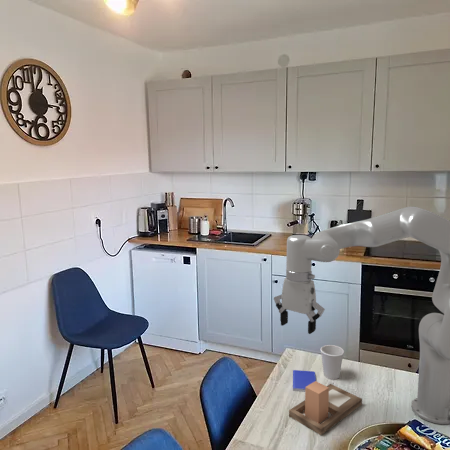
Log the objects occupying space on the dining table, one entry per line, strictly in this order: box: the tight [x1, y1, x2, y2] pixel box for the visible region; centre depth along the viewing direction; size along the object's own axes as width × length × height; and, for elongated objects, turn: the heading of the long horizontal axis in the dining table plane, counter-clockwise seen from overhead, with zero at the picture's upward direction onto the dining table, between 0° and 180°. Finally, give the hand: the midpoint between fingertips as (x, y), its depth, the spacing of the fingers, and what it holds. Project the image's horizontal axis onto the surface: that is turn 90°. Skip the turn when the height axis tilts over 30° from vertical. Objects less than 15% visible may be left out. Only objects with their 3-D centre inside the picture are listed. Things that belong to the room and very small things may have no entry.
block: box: [304, 380, 329, 424], centre depth 122 cm, size 5×5×10 cm
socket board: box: [288, 383, 363, 436], centre depth 126 cm, size 12×22×2 cm, turn 131°
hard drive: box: [292, 369, 317, 393], centre depth 142 cm, size 2×8×12 cm
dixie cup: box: [319, 344, 345, 380], centre depth 145 cm, size 8×8×10 cm
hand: (297, 328), depth 124 cm, fingers open, 9 cm apart
